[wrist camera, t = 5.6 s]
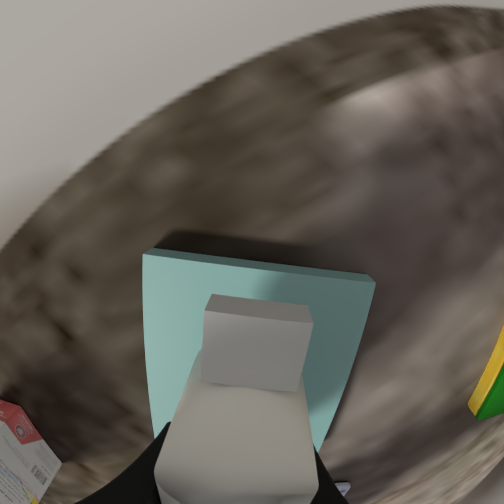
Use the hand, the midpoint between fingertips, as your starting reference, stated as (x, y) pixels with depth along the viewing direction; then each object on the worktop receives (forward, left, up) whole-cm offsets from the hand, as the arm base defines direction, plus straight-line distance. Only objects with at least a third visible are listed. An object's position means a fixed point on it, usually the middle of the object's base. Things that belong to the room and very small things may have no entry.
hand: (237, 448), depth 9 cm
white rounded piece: (0, 0, -2) cm, 2 cm away
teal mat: (0, 0, -5) cm, 5 cm away
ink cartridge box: (-15, +20, -6) cm, 26 cm away
